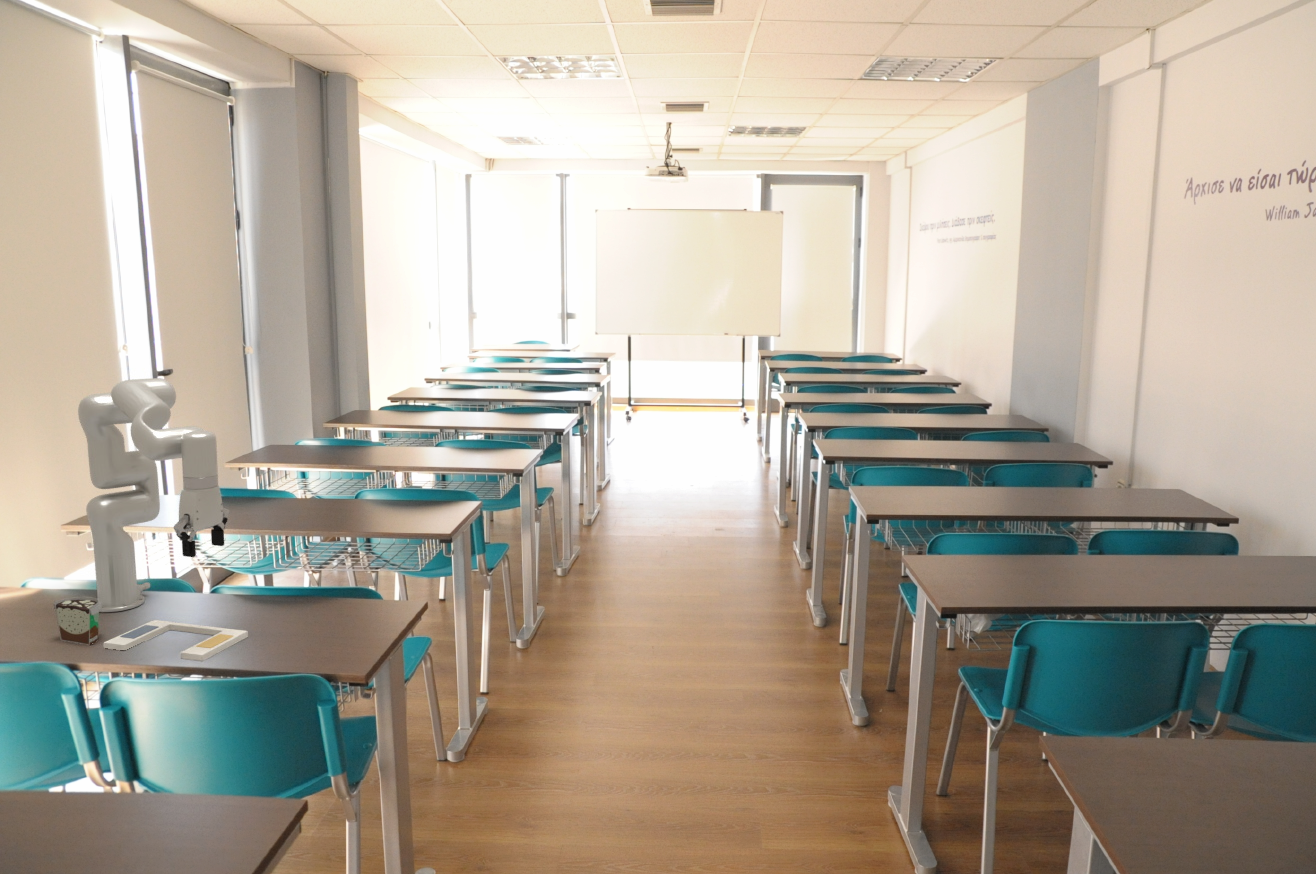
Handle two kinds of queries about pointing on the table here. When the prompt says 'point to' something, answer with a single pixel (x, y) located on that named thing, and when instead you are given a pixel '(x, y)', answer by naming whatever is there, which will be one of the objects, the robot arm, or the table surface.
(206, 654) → the label board
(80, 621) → the food container
